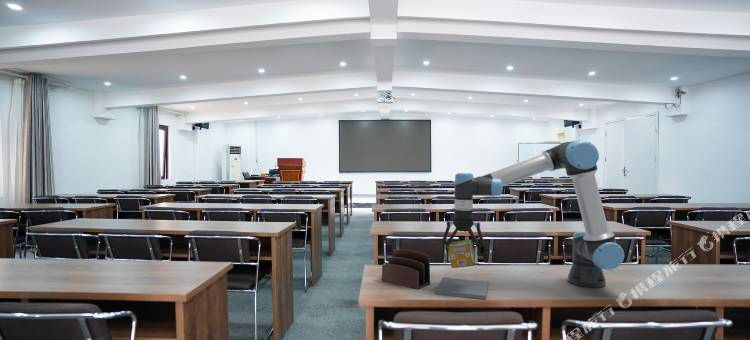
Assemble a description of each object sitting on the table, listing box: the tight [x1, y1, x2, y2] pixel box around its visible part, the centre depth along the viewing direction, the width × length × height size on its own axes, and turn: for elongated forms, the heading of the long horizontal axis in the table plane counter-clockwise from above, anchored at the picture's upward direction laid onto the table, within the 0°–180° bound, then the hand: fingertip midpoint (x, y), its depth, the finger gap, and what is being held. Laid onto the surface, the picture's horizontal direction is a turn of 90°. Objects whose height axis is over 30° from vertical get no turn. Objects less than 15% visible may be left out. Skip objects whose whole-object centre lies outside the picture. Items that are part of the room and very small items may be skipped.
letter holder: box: [381, 248, 431, 290], centre depth 181 cm, size 10×20×14 cm, turn 51°
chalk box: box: [448, 239, 476, 269], centre depth 170 cm, size 9×9×15 cm
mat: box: [434, 277, 489, 300], centre depth 171 cm, size 20×20×2 cm
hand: (462, 261), depth 171 cm, fingers closed on chalk box, 10 cm apart
